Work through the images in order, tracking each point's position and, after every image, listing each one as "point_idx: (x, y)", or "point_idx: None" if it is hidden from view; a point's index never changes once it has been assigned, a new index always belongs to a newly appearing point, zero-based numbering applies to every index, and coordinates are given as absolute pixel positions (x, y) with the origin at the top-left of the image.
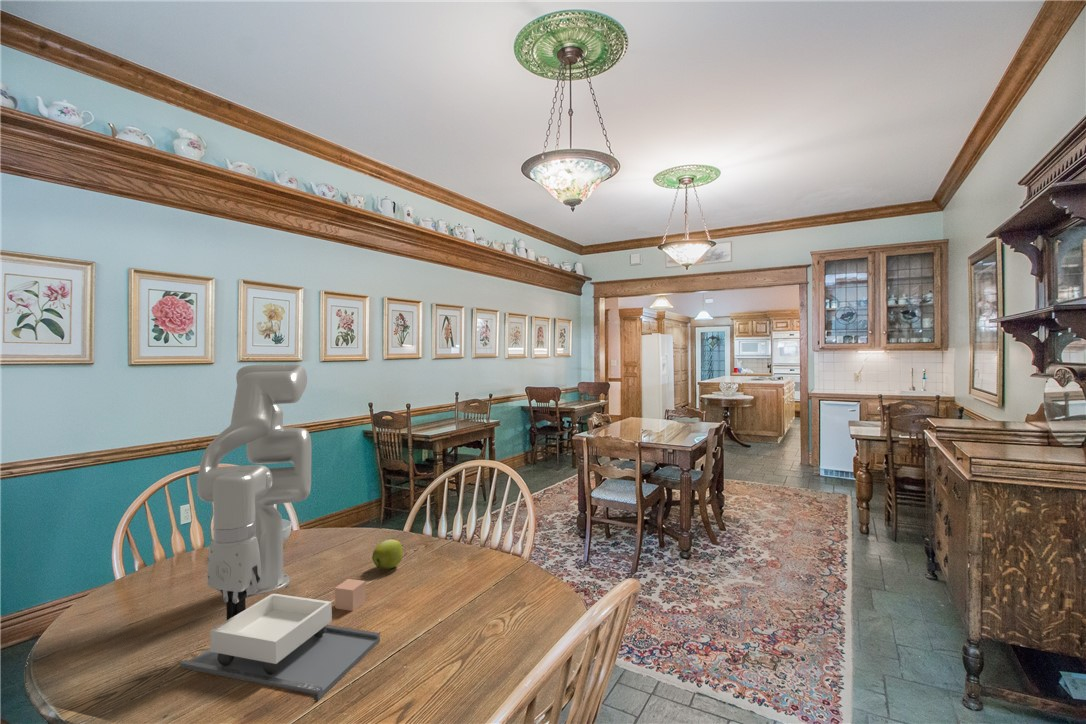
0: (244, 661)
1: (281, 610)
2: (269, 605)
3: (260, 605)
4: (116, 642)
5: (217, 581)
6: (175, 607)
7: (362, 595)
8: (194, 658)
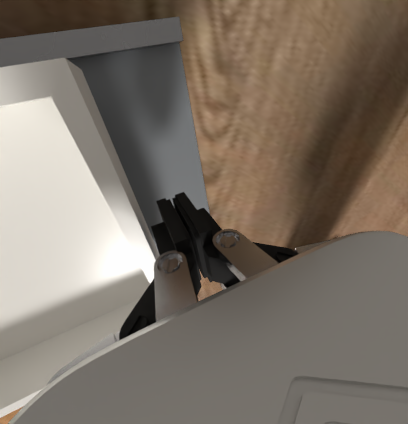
0: None
1: (134, 301)
2: None
3: None
4: (400, 54)
5: (360, 313)
6: (369, 179)
7: None
8: (182, 79)
